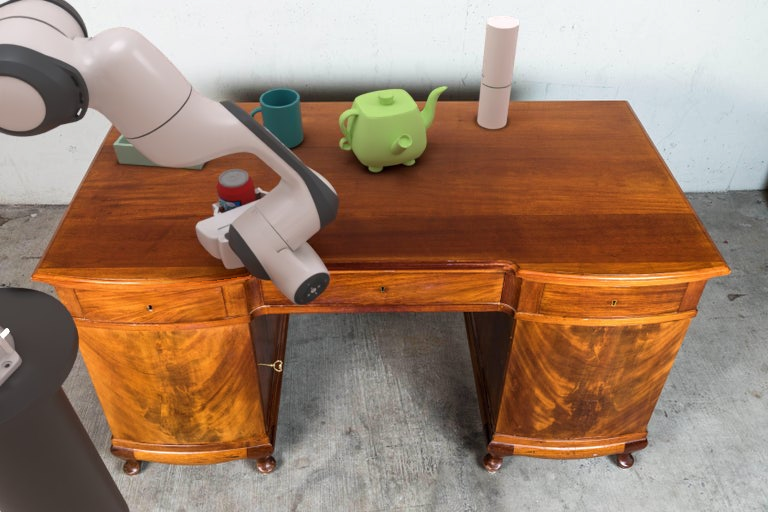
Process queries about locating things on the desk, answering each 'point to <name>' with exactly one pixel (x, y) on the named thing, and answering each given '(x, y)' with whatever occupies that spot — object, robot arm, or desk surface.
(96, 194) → the desk surface
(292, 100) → the cup
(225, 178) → the beverage can
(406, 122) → the teapot
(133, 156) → the divided storage tray
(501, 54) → the cylindrical container
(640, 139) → the desk surface
